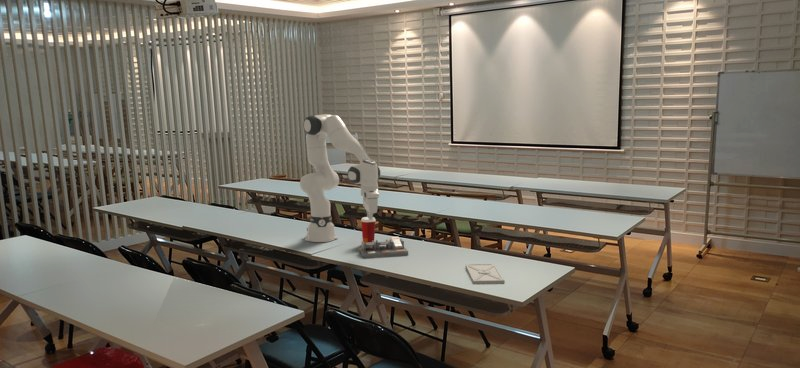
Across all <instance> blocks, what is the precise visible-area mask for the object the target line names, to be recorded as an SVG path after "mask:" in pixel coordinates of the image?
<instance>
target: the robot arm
mask: <svg viewBox="0 0 800 368" xmlns="http://www.w3.org/2000/svg"><path fill="white" fill-rule="evenodd" d="M303 130H304V132H305V133H306V139H305V140H306V154H307V161H308V163H309V164H310V165H311V166H312V167H313V168H314V170H315V172H311V173H307V174H305V175H303V176H301V177H300V181H299V186H300V189H301V190H302V191H303V192H304V193H305V195H307V197H308V200H309V203H310V204H309V205H310V218H309V219H310V220H309V221H310V223H309V225H308V226H307V227H306V232H307V233H306V236H305V238H304V241H305V242H313V243H328V242H331V241H333V240H338V236H337V235H335V224H334V223H333V222H332V218H333V217H332V214H331V202H330V199H328V198H326V197H325V194H324V193H325V192H324V191H330V190H331V191H332V190H334V189H335V188H337V187H338V186H339V185H340V177H339V175H338V173H337V172H336V171H334V170H333V168H332V166H331V164H330V162H329V157H328V149H327V141H326V138H327V137H328V139H329V141H330V143H331V145H332V146H333V147H334V148H335V149H336V150H338V151H343V152H346V153H350V154H352V155H354V156H355V157H356V158H357V159H358V161H359V163H358V164H355V165H352V166H350V167H349V169H348V171H347V179H348V181H349V183H350V184H353V185H358V184H359V185H360V196H362V206H363V207H364V208H365V210H366V217H368V218H369V220H372V219H373V217H374V214H377V212H378V206H379V205H378V203H379V199H378V198H380V193H379V184H378V181H379V180H380V177H381V170H380V167H379V165H378V164H377V162H376V161H375V160H373V159H372V158H371V156H370V155H369V153H368V152H367V151H366V149H365V148H364V146H363V145H362V143H361V142H360V141H359V140H357V139H356V138H355V137H354V136H353V135H352V134H351V133H350V131H349V129H348V127H347V125H346V123H345V122H344V121H343V119H342V118H341V117H340V116H339V115H337V114H333V113H331V114H328V113H323V114H317V115H315V114H314V115H308V116H307V117H305V118H304V120H303Z"/></svg>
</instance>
